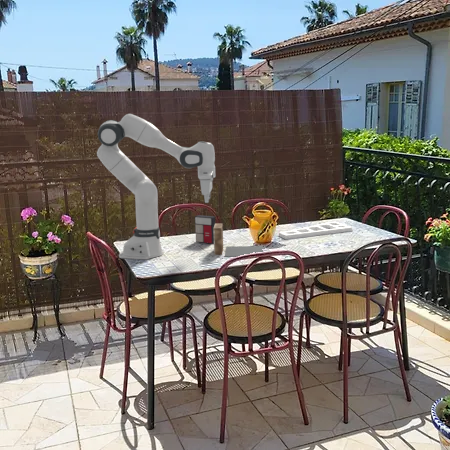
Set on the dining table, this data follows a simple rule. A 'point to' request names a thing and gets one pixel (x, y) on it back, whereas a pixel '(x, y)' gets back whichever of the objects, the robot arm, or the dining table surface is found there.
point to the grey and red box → (204, 229)
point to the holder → (309, 231)
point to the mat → (242, 250)
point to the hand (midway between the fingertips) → (207, 200)
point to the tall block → (218, 238)
